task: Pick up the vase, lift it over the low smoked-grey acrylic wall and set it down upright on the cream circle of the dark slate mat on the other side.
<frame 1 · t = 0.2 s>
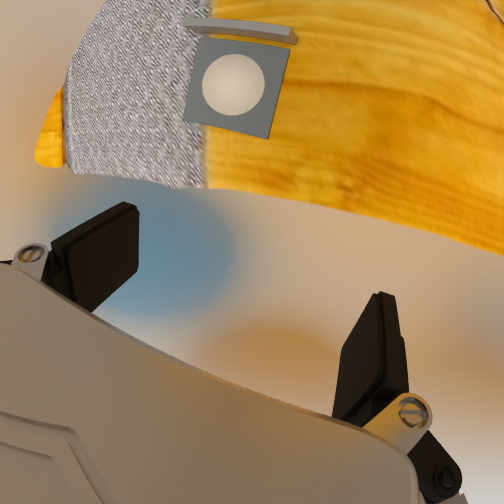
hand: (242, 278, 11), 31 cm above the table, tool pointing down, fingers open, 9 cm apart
low wall: (245, 32, 31), on the table
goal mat: (233, 84, 36), on the table
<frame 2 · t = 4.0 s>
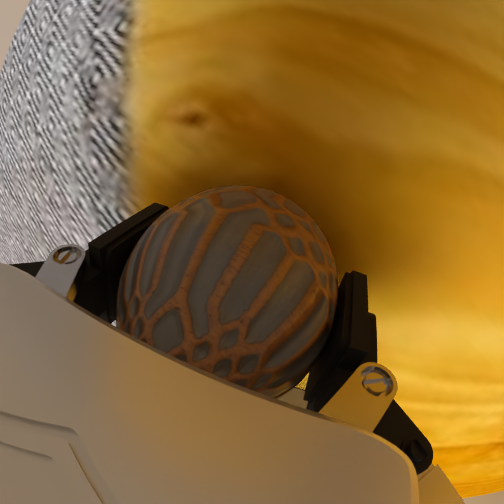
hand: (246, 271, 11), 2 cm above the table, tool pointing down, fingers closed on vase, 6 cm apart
vase: (263, 245, 13), on the table, touching gripper
low wall: (229, 369, 17), on the table
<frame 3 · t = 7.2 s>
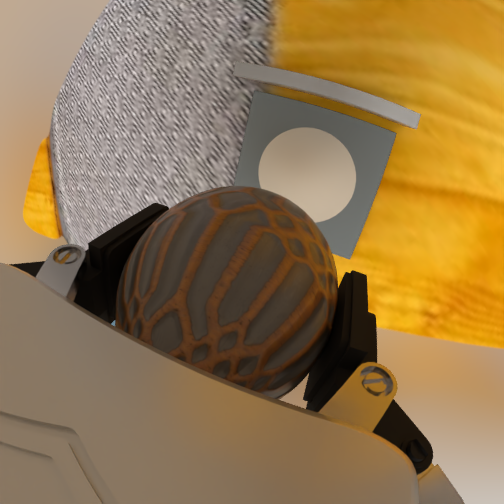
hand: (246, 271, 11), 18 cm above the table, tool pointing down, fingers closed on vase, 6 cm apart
vase: (262, 245, 13), point 16 cm above the table, touching gripper
low wall: (329, 92, 22), on the table
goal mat: (307, 175, 26), on the table
when the fingers open (3 cm above the table, at t = 10.5 s): vase stays where it is, resting on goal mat.
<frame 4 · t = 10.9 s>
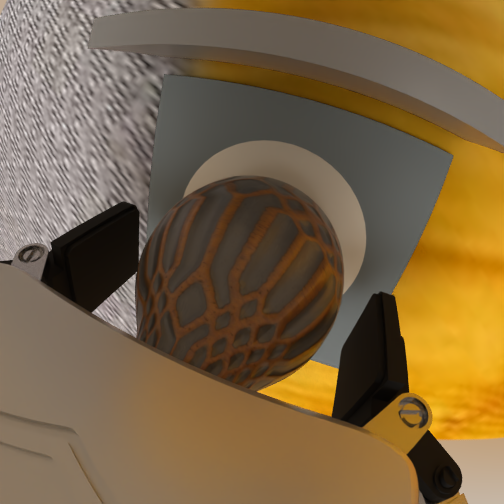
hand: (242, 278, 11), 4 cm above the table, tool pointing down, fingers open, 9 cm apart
vase: (270, 234, 14), resting on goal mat
low wall: (313, 65, 10), on the table
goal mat: (269, 235, 14), on the table
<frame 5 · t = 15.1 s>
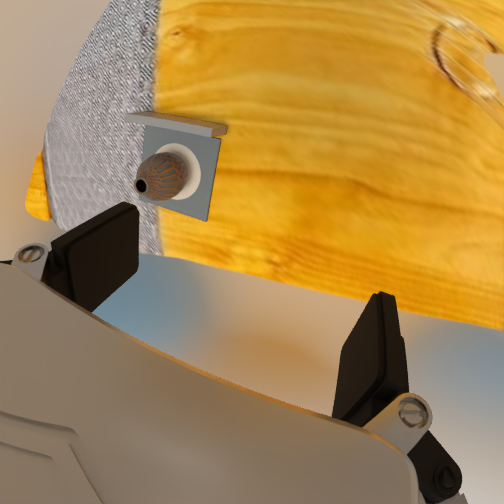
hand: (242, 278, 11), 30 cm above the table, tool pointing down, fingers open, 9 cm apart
vase: (175, 170, 43), resting on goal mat
low wall: (183, 121, 39), on the table
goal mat: (176, 171, 44), on the table
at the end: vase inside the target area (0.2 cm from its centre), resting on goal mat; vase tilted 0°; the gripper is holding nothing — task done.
